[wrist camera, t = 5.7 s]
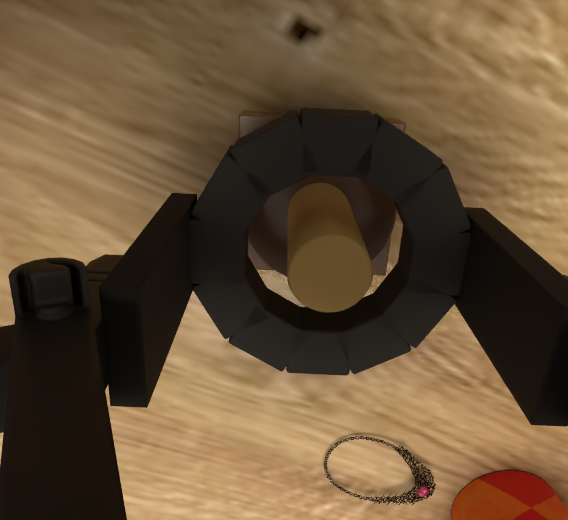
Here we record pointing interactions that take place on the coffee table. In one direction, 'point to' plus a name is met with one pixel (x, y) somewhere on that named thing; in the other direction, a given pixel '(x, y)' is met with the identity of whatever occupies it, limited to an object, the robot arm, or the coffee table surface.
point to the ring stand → (322, 233)
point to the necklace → (421, 492)
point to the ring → (369, 310)
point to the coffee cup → (508, 499)
